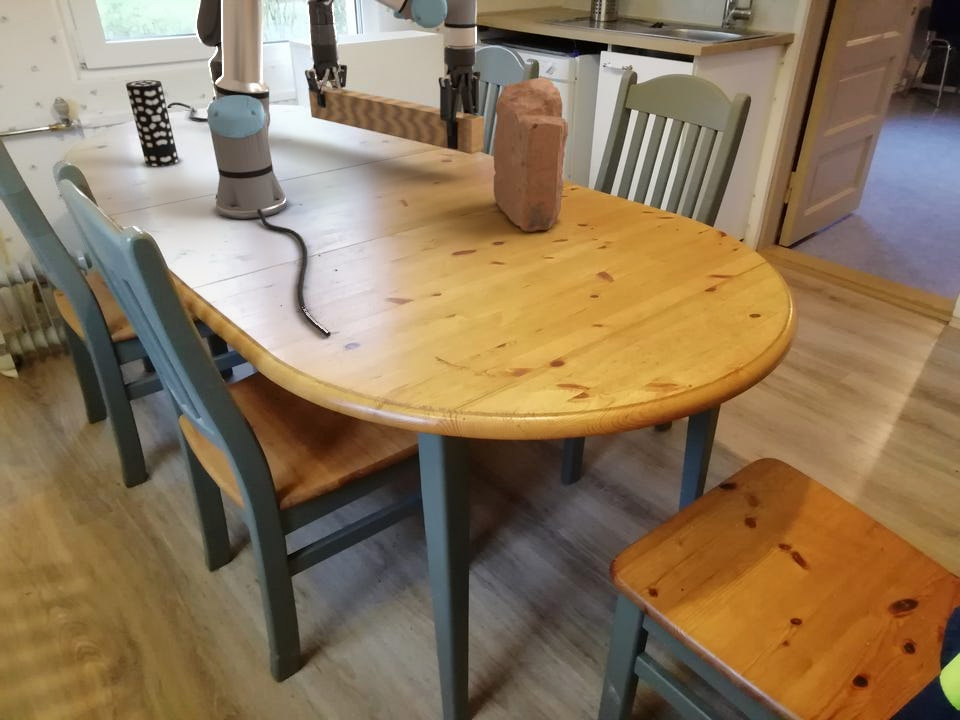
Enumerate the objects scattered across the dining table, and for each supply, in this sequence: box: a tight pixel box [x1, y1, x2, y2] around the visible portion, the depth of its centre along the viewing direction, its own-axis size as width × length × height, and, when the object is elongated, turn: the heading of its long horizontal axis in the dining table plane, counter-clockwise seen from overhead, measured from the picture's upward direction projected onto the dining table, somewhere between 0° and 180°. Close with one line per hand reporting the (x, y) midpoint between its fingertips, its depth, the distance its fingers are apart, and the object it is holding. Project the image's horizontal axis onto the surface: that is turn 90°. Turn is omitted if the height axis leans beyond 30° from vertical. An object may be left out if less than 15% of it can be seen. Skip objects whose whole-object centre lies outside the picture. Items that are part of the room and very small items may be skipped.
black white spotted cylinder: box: [125, 79, 179, 167], centre depth 181 cm, size 8×8×20 cm
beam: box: [307, 85, 485, 155], centre depth 185 cm, size 59×5×8 cm, turn 53°
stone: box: [493, 77, 569, 232], centre depth 148 cm, size 22×11×28 cm, turn 18°
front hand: (459, 145), depth 175 cm, fingers closed on beam, 5 cm apart
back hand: (329, 105), depth 198 cm, fingers closed on beam, 5 cm apart
